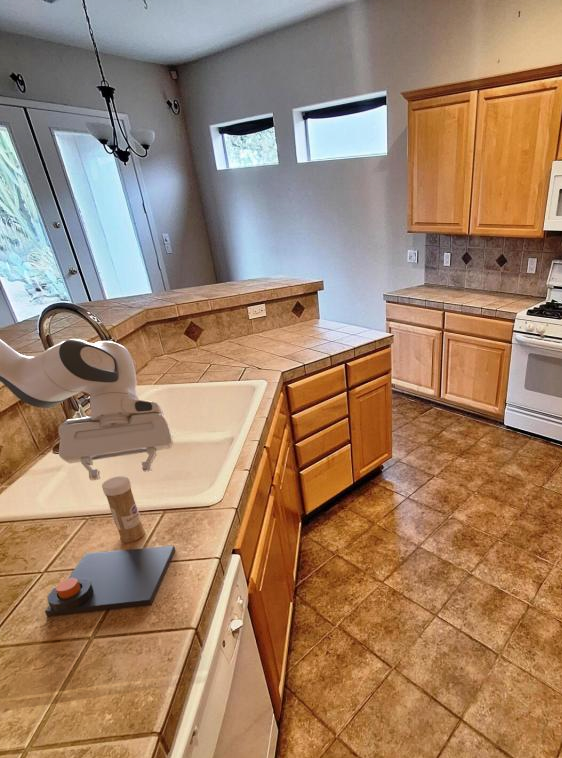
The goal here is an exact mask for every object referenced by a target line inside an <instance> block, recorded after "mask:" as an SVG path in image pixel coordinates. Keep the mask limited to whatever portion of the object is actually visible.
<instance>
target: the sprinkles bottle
mask: <svg viewBox="0 0 562 758" xmlns="http://www.w3.org/2000/svg"><path fill="white" fill-rule="evenodd" d="M101 489H102V491H103V494H104V496H105V497H106V500H107V502H108V505H109V510H110V512H111V515H112V518H113V521H114V525H115V527H116V530H117V532H118V535H119V539H120V541H121V542H123V543H132V542H137V541H138V540H140V539H141V538H143V537H144V535H145V534H146V533H145V532H146V530H145V528H144V526H143V523H142V520H141V519H142V518H141V516H140V512H139V509H138V507H137V504H136V501H135V498H134V494H133V491H132V483H131V481H130V478H128V477H127V476H123V475H120V476H114V477H111V478H108V479H107V480H104V481H103V483H102V485H101Z"/></svg>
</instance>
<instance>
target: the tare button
mask: <svg viewBox="0 0 562 758" xmlns="http://www.w3.org/2000/svg"><path fill="white" fill-rule="evenodd" d="M68 578H69V577H68ZM68 578H66V579H63V580H62V581H60V582H59V583H58V584H57V585H56V586H55V587H56V591H57V593H58V595H59V597H60V598H61V599H67V598H70V597H72V596H74V595H76V594H77V593H79V591H80V590H81V587H80V585H79V582H78V580H77V579H75V578H69V579H68Z"/></svg>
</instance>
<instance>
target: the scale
mask: <svg viewBox="0 0 562 758" xmlns="http://www.w3.org/2000/svg"><path fill="white" fill-rule="evenodd" d="M176 551H177V550H176V547H175V545H164V546H154V547H151V546H150V547H141V548H140V547H139V548H131V549H120V550H108V551H99V552H86V553H85V554H84V555H83V557H82V558H81V559H80V561H79V562H78V563H77V565H76V566H75V567H74V569H73V570H72V572H71V573H70V575H69V576H68V578H67V579H69V578H75V579H77V580H78V582H79V585H80V587H81V590H80V591H79V593H77V594H76V595H74V596H72V597H70V598H67V599H61V598H60V597H59V595H58V593H57V591H56V586H55V587H54V588H52V590H51V591H50V592H49V593H48V594H47V596H46V597H47V603H48V606H47V607H46V609H45V610H44V613H45V616H46V617H47V618H53V617H61V616H70V615H78V614H79V615H81V614H88V613H97V612H98V613H99V612H105V611H114V610H123V609H132V608H141V607H150V606H153V603H154V601H155V599H156V596H157V595H158V592H159V590H160V587H161V585H162V583H163V581H164V578H165V576H166V573H167V572H168V569H169V567H170V565H171V562H172V560H173V558H174V556H175V553H176Z"/></svg>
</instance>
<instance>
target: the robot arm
mask: <svg viewBox="0 0 562 758" xmlns="http://www.w3.org/2000/svg"><path fill="white" fill-rule="evenodd" d="M0 382H1V383H2V384H3V385H4V386H5V387H6V388H7V389H8V390H9V391H10V392H11V393H12V394H13V395H14V396H15V397H16V398H17V399H19V400H20V401H21V402H23V403H25V404H27V405H29V406H32V407H35V408H41V409H49V408H50V409H51V408H54V407H56V406H58V405H60V404H62V403H63V402H64V401H66V400H68V399H69V398H71V397H73V396H76V395H77V394H79V393H86V394H88V395H89V396H90V399H89V403H90V404H89V405H90V416H86V417H80V418H69V419H66V420H65V421H64V422H62V423H61V424H60V425H59V426H58V438H59V444H58V445H59V446H58V456H59V458H61V460H62V461H64V462H66V463H68V464H77V463H81V465H82V466H83V467H84V468H85V469H86V471H88V479H89V480H90V481H98V480H101V471H100V470H98V468H97V469H93V467H92V466H93V465H94V461H97V460H104V459H110V458H117V457H123V456H124V457H125V456H131V455H138V454H144V453H146V454H147V455H148V456H147V459H146V461H141V466H142V467H141V469H142V471H143V472H144V473H148V472H152V471H153V466H152V464H153V463H154V461H155V459H156V457H157V452H159V451H165V450H170V449H171V448H172V447H173V446H174V439H173V434H172V430H171V428H170V425H169V424H168V421H167V420H166V418H165V416H164V415H165V414H164V412H163V409H162V407H161V406H160V404H158V402H155V401H149V400H143V399H139V396H138V395H137V385H138V381H137V373H136V367H135V363H134V360H133V357H132V355H131V353H130V352H129V350H128V348H126V347H125V346H123V345H122V344H119V343H117V342H114V341H110V340H109V341H108V340H101V341H97V342H95V343H92V342H88V341H85V340H82V339H79V338H70V339H66V340H64V341H62V342H59V343H57V344H55V345H53V346H51V347H49V348H47V349H46V350H44V351H42V352H39V353H38V354H36V355H34V356H27V355H23V354H20V353H19V352H17V351H16V350H15V349H13V348H12V347H11V346H10V345H8V344H7V343H6V342H4V340H2V339H1V338H0Z"/></svg>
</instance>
